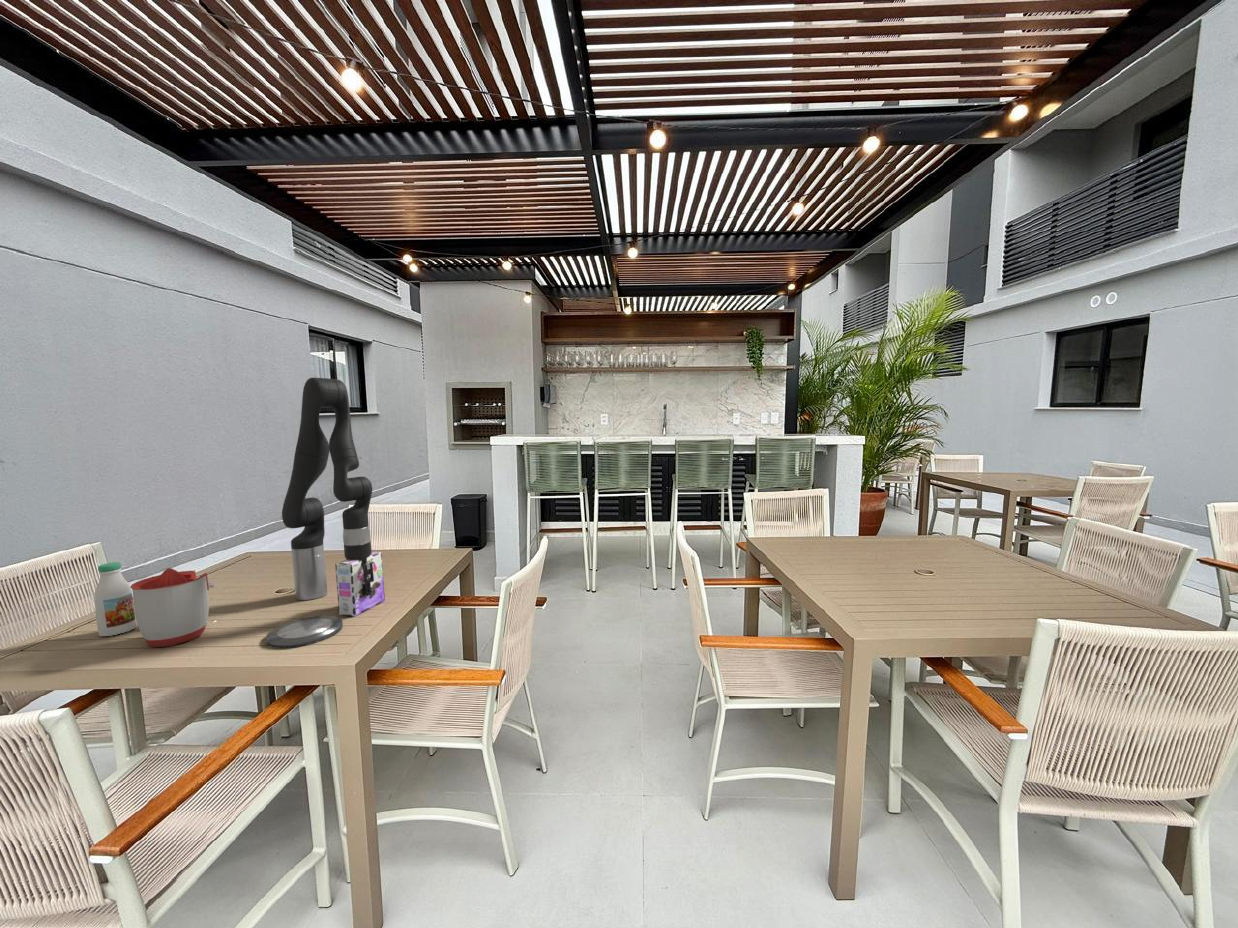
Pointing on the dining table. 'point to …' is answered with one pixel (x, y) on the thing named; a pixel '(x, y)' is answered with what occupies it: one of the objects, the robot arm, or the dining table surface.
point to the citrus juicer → (171, 607)
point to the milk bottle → (113, 601)
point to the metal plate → (304, 631)
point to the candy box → (358, 585)
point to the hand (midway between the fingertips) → (361, 592)
